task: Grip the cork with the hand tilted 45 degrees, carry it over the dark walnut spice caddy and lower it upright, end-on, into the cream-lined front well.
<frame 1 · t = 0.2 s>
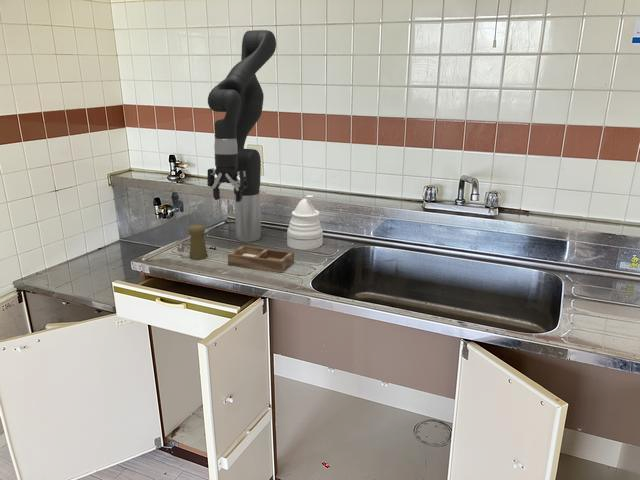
hand: (227, 200, 173), 18 cm above the countertop, tool pointing down, fingers open, 8 cm apart
cork: (198, 257, 172), on the countertop
spice caddy: (261, 263, 166), on the countertop
honey pot: (305, 244, 186), on the countertop
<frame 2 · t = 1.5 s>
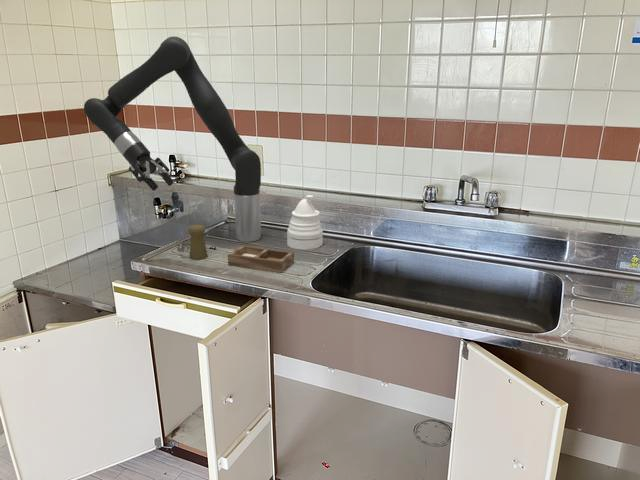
hand: (164, 186, 168), 23 cm above the countertop, tool tilted 45°, fingers open, 8 cm apart
nothing on the countertop moved.
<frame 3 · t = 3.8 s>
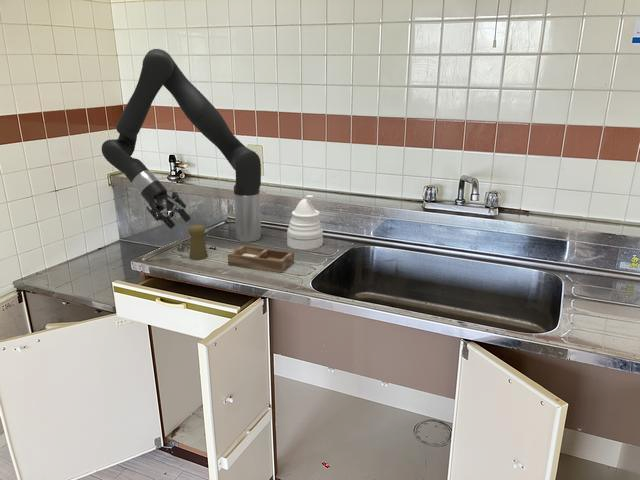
hand: (181, 223, 170), 11 cm above the countertop, tool tilted 45°, fingers open, 8 cm apart
nothing on the countertop moved.
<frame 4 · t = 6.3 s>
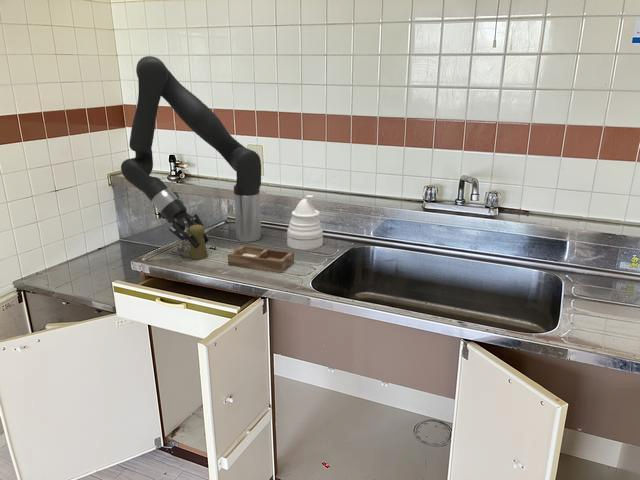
hand: (202, 244, 169), 5 cm above the countertop, tool tilted 45°, fingers closed on cork, 4 cm apart
cork: (198, 257, 172), on the countertop, touching gripper
everything else where it was.
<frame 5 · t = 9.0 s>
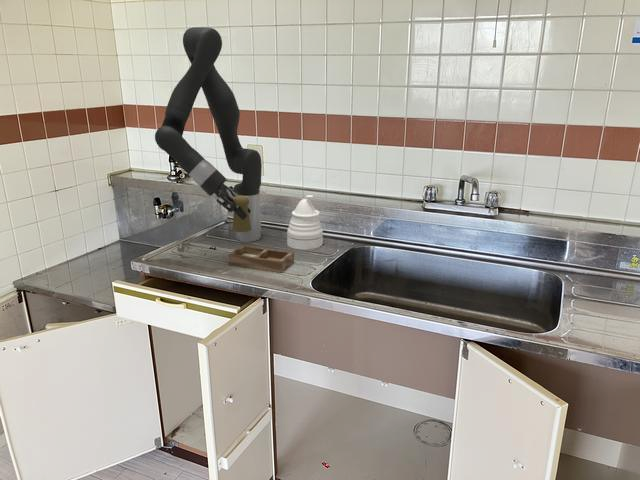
hand: (247, 215, 162), 16 cm above the countertop, tool tilted 45°, fingers closed on cork, 4 cm apart
cork: (241, 230, 164), point 11 cm above the countertop, touching gripper
everything else where it was.
when the fingers open (7 cm above the countertop, at t = 11.7 s): cork drops 1 cm, resting on spice caddy.
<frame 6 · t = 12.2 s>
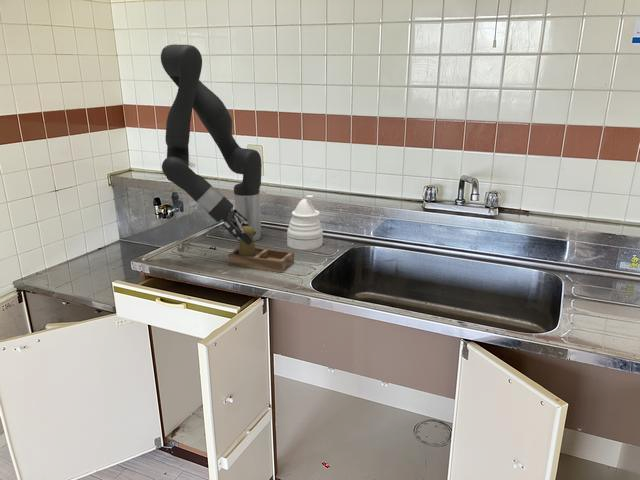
hand: (252, 238, 165), 8 cm above the countertop, tool tilted 45°, fingers open, 8 cm apart
cork: (247, 259, 166), point 1 cm above the countertop, touching spice caddy
everything else where it was.
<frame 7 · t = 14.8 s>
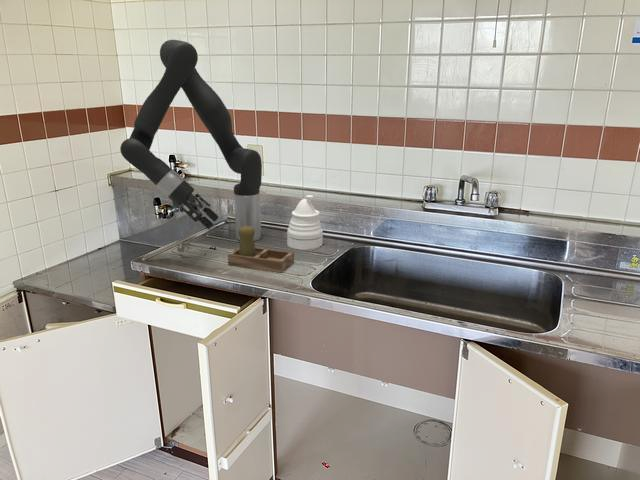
hand: (214, 223, 163), 13 cm above the countertop, tool tilted 45°, fingers open, 8 cm apart
nothing on the countertop moved.
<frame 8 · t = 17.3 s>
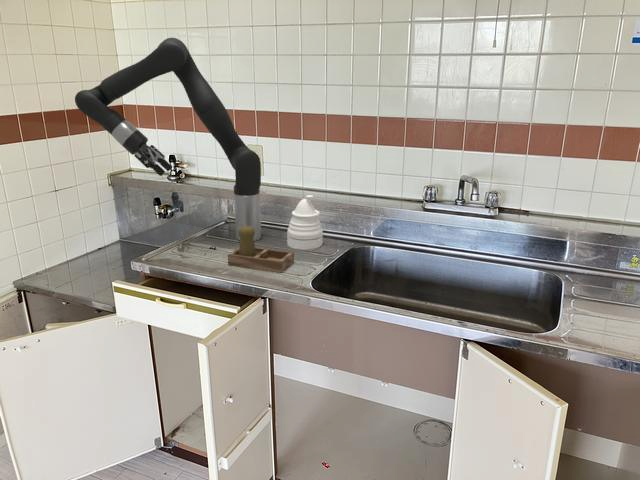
hand: (166, 171, 174), 27 cm above the countertop, tool tilted 45°, fingers open, 8 cm apart
nothing on the countertop moved.
at the end: cork 0.8 cm from the target spot on the spice caddy, point 1.0 cm above the spice caddy's base; cork tilted 0°; the gripper is holding nothing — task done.
